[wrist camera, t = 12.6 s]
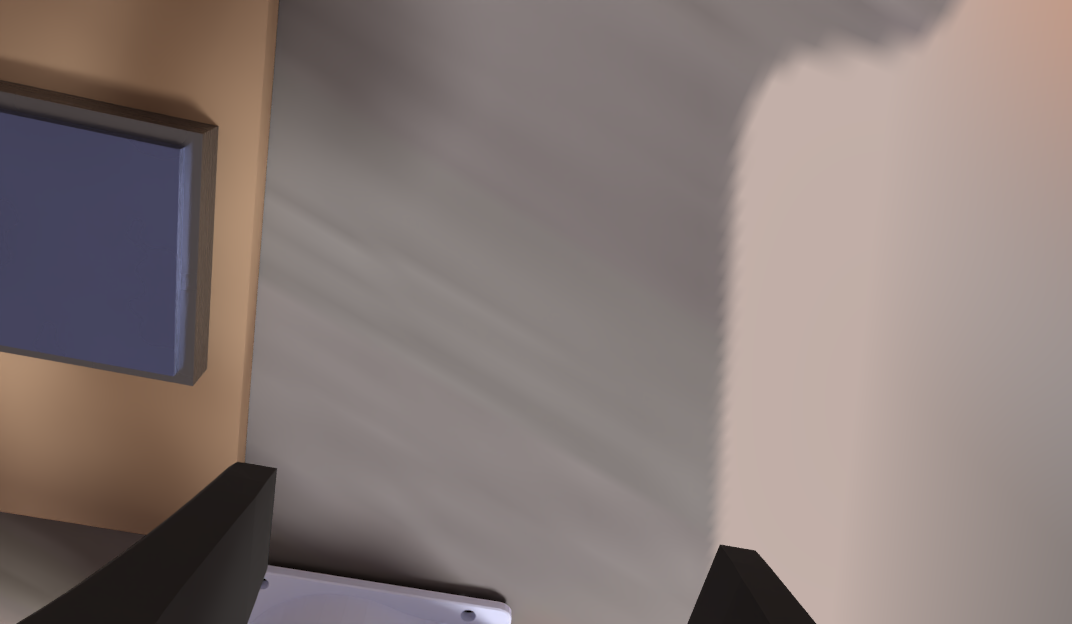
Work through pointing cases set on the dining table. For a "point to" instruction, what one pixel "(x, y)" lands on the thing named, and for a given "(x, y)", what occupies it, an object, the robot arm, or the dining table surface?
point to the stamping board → (224, 388)
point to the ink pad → (105, 234)
